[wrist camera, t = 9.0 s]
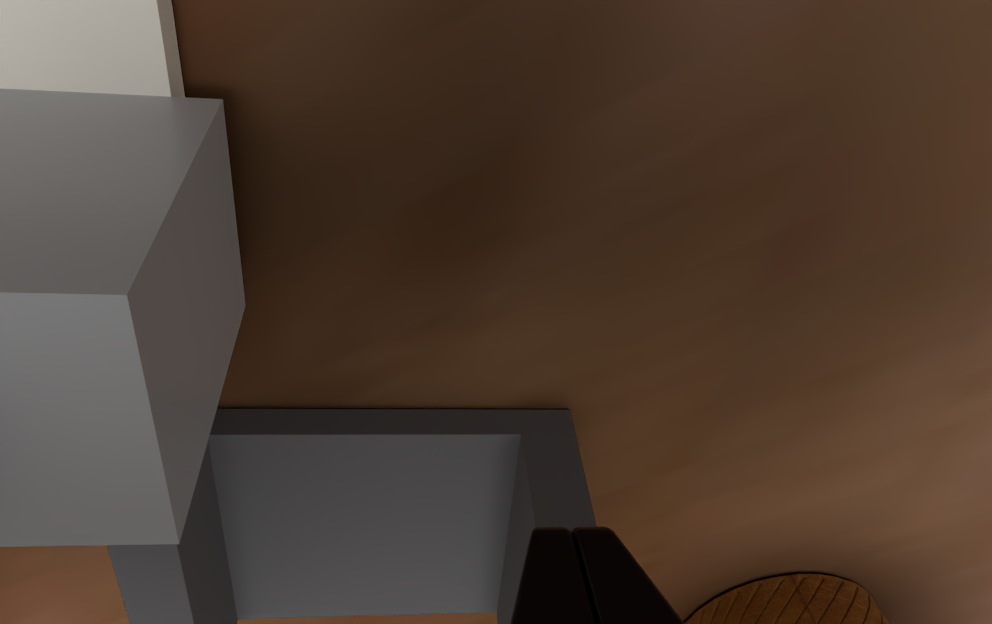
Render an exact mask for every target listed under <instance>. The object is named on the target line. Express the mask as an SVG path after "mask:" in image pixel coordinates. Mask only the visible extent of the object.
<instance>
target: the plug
mask: <svg viewBox="0 0 992 624" xmlns="http://www.w3.org/2000/svg"><path fill="white" fill-rule="evenodd" d="M245 306H246V304H245V295H244V286H243V277H242V268H241V259H240V250H239V241H238V232H237V223H236V214H235V205H234V196H233V187H232V177H231V168H230V159H229V150H228V141H227V132H226V123H225V114H224V105H223V99H209V98H188V97H167V96H147V95H126V94H105V93H84V92H64V91H43V90H22V89H1V88H0V547H15V546H86V545H158V544H179V543H180V540H181V536H182V532H183V529H184V525H185V522H186V518H187V514H188V511H189V507H190V504H191V500H192V496H193V493H194V489H195V486H196V482H197V478H198V475H199V471H200V468H201V464H202V461H203V457H204V453H205V450H206V446H207V443H208V439H209V435H210V432H211V428H212V425H213V421H214V417H215V414H216V410H217V407H218V403H219V399H220V396H221V392H222V389H223V385H224V381H225V378H226V374H227V371H228V367H229V363H230V360H231V356H232V353H233V349H234V346H235V342H236V338H237V335H238V331H239V328H240V324H241V320H242V317H243V313H244V310H245Z"/></svg>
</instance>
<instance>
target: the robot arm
mask: <svg viewBox="0 0 992 624" xmlns="http://www.w3.org/2000/svg"><path fill="white" fill-rule="evenodd" d="M510 624H684V622H683V621H682V620H681V619H680V617H679V616H678V615H677V613H676V612H675V611H674V609H673V608H672V607H671V605H670V604H669V603H668V602H667V600H666V599H665V598H664V596H663V595H662V594H661V592H660V591H659V590H658V589H657V587H656V586H655V585H654V583H653V582H652V581H651V579H650V578H649V577H648V576H647V574H646V573H645V572H644V570H643V569H642V568H641V566H640V565H639V564H638V563H637V561H636V560H635V559H634V557H633V556H632V555H631V553H630V552H629V551H628V549H627V548H626V547H625V546H624V544H623V543H622V542H621V540H620V539H619V538H618V536H617V535H616V534H615V533H614V532H613V531H612V530H611V529H609V528H608V527H603V526H601V527H575V528H573V529H572V531H570V530H569V529H568V528H566V527H536V528H534V529H533V530H532V532H531V535H530V539H529V543H528V548H527V552H526V556H525V561H524V565H523V569H522V574H521V578H520V582H519V587H518V591H517V595H516V600H515V604H514V608H513V613H512V617H511V621H510Z"/></svg>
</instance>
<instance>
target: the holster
mask: <svg viewBox="0 0 992 624" xmlns="http://www.w3.org/2000/svg"><path fill="white" fill-rule="evenodd" d="M536 527H566V528H568V529H569V530H570V531H572V529H573V528H575V527H597V526H596V521H595V517H594V513H593V508H592V504H591V500H590V496H589V491H588V487H587V483H586V478H585V474H584V470H583V465H582V461H581V457H580V453H579V448H578V444H577V440H576V435H575V431H574V427H573V423H572V418H571V414H570V410H473V409H217V410H216V414H215V417H214V421H213V425H212V428H211V432H210V435H209V439H208V443H207V446H206V450H205V453H204V457H203V461H202V464H201V468H200V471H199V475H198V478H197V482H196V486H195V489H194V493H193V496H192V500H191V504H190V507H189V511H188V514H187V518H186V522H185V525H184V529H183V532H182V536H181V540H180V543H179V544H158V545H107V547H108V550H109V554H110V557H111V560H112V564H113V567H114V571H115V574H116V578H117V581H118V584H119V588H120V591H121V595H122V598H123V602H124V605H125V608H126V612H127V615H128V619H129V622H130V624H237V620H238V619H259V618H298V617H336V616H374V615H412V614H451V613H489V612H497V619H498V624H510V621H511V617H512V613H513V608H514V604H515V600H516V595H517V591H518V587H519V582H520V578H521V574H522V569H523V565H524V561H525V556H526V552H527V548H528V543H529V539H530V535H531V532H532V530H533V529H534V528H536Z"/></svg>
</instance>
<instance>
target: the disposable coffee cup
mask: <svg viewBox="0 0 992 624" xmlns="http://www.w3.org/2000/svg"><path fill="white" fill-rule="evenodd" d="M684 624H890V623H889V621H888V620H887V619H886V617H885V616H884V615H883V613H882V612H881V610H880V609H879V608H878V606H877V605H876V603H875V601H874V599H873V598H872V597H871V595H870V594H869V593H868V592H867V591H866V590H865V589H863V588H862V587H860V586H859V585H857V584H855V583H854V582H851V581H848V580H844V579H841V578H838V577H835V576H829V575H822V574H795V575H787V576H780V577H773V578H769V579H764V580H760V581H756V582H753V583H750V584H747V585H745V586H742V587H739V588H736V589H734V590H732V591H730V592H728V593H726V594H724V595H722V596H720V597H718V598H716V599H714V600H713V601H711V602H710V603H708V604H707V605H705V606H704V607H702V608H701V609H699V610H698V611H697V612H696V613H695V614H694V615H693V616H692V617H691V618H690V619H689V620H688V621H687V622H685V623H684Z"/></svg>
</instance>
